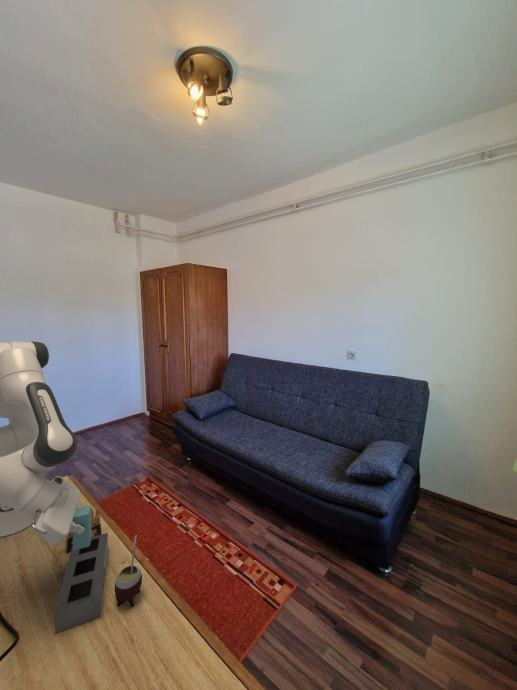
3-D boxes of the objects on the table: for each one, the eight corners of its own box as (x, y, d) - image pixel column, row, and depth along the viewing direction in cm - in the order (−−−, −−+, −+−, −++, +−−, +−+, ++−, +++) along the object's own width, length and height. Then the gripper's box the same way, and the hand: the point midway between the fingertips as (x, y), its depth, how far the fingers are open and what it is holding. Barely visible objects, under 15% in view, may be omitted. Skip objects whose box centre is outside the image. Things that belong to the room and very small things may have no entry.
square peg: (76, 540, 82) (75, 508, 81) (91, 536, 83) (90, 505, 83) (73, 550, 78) (72, 517, 77) (89, 546, 80) (88, 514, 79)
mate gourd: (119, 617, 74) (118, 566, 72) (110, 595, 79) (109, 547, 78) (147, 598, 79) (147, 550, 78) (137, 579, 85) (136, 534, 83)
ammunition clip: (67, 553, 93) (65, 520, 92) (65, 550, 94) (64, 517, 93) (101, 536, 101) (100, 505, 100) (100, 533, 102) (99, 503, 101)
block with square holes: (74, 558, 91) (73, 541, 91) (108, 548, 95) (107, 532, 95) (54, 633, 69) (54, 612, 69) (100, 617, 74) (99, 597, 73)
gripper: (39, 515, 67) (87, 540, 72) (60, 472, 86) (97, 494, 90) (17, 538, 66) (67, 562, 70) (43, 489, 84) (82, 511, 89)
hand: (84, 523), depth 81 cm, fingers closed on square peg, 4 cm apart
